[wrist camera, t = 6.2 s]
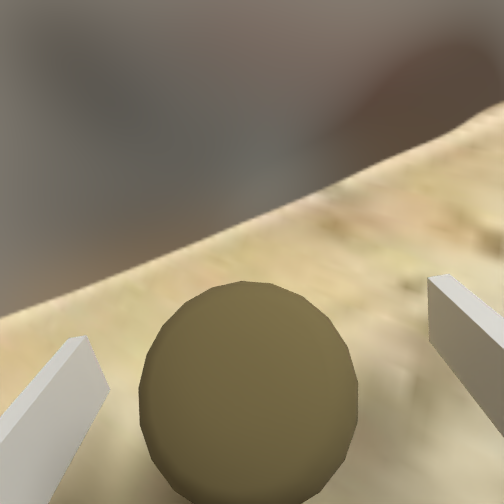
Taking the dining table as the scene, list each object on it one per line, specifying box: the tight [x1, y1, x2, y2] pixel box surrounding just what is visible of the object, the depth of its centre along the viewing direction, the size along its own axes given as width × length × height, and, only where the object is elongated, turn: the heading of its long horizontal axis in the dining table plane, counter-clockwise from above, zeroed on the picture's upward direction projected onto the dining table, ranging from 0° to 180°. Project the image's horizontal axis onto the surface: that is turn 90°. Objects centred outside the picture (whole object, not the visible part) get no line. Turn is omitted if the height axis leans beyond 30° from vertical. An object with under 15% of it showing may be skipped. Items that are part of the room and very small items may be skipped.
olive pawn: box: [139, 281, 358, 504], centre depth 12 cm, size 6×6×11 cm
